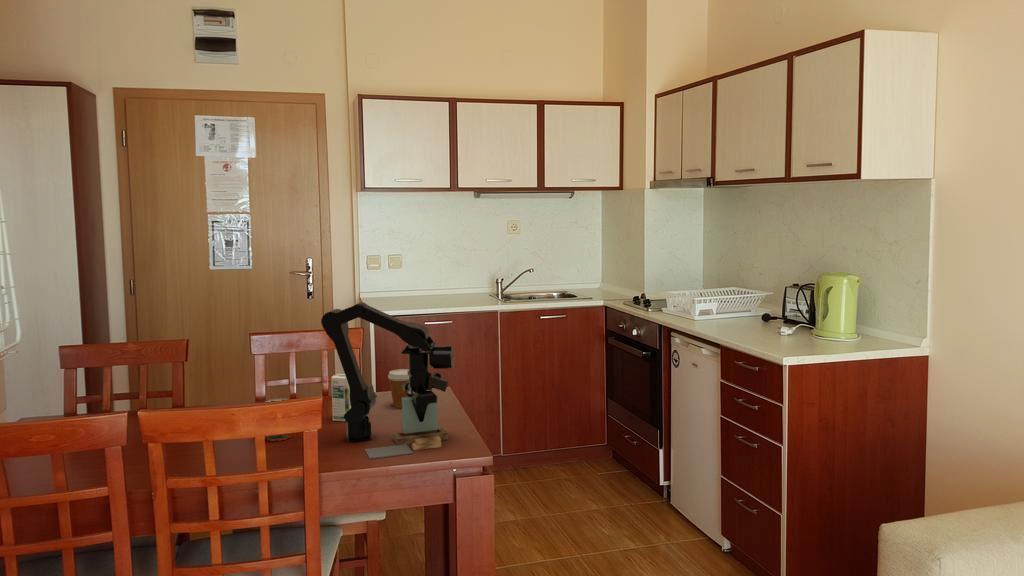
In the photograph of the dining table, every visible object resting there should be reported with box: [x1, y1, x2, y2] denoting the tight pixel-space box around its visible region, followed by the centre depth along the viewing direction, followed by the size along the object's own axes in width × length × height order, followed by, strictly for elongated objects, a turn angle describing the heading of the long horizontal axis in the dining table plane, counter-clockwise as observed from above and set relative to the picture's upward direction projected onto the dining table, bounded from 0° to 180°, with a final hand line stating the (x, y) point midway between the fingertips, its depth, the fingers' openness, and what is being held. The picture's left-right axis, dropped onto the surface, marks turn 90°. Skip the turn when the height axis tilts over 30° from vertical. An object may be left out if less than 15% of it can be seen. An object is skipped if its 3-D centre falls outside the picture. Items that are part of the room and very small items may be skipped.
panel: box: [401, 397, 439, 434], centre depth 227 cm, size 10×3×10 cm, turn 110°
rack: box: [392, 426, 449, 445], centre depth 228 cm, size 15×7×2 cm, turn 110°
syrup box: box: [330, 373, 351, 422], centre depth 249 cm, size 6×6×14 cm
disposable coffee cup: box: [387, 368, 409, 409], centre depth 264 cm, size 10×10×12 cm
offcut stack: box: [411, 436, 442, 451], centre depth 221 cm, size 8×3×2 cm, turn 110°
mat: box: [364, 444, 414, 460], centre depth 217 cm, size 12×8×1 cm, turn 110°
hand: (420, 420), depth 227 cm, fingers closed on panel, 3 cm apart
